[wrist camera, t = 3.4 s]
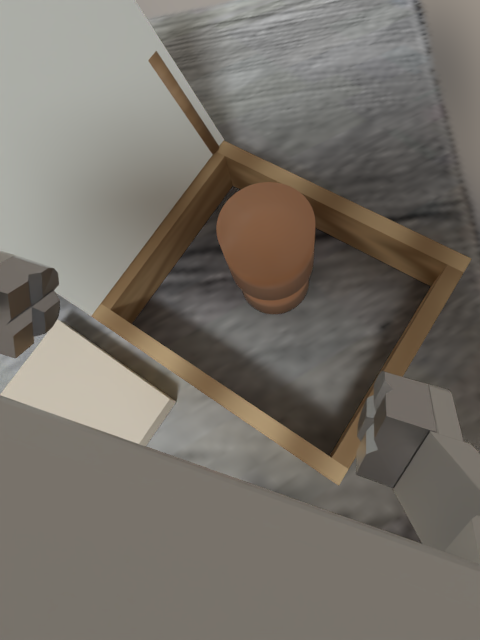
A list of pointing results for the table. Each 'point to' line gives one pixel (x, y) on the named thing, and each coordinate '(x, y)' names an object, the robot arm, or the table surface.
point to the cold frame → (330, 217)
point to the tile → (89, 387)
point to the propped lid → (88, 139)
